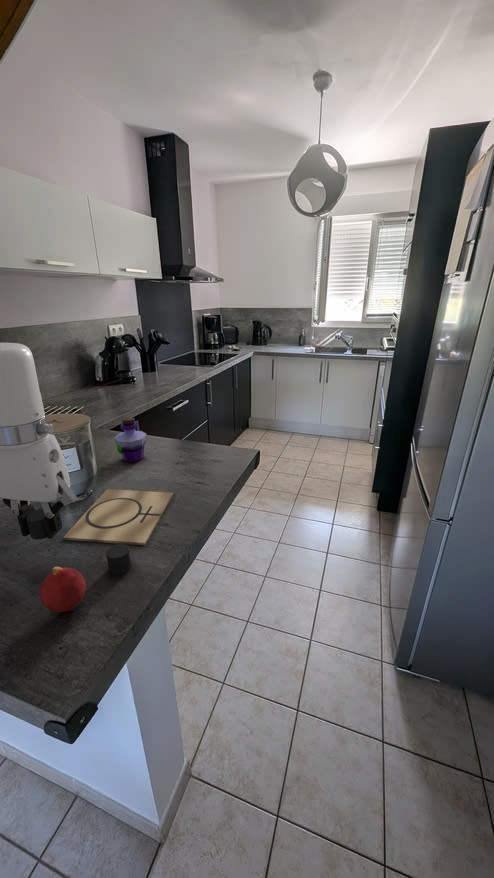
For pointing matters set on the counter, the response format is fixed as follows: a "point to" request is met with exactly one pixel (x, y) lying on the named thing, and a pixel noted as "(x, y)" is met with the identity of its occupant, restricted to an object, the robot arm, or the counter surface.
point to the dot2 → (118, 559)
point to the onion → (62, 589)
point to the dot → (36, 524)
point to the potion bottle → (130, 441)
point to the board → (121, 517)
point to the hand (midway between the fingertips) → (42, 531)
